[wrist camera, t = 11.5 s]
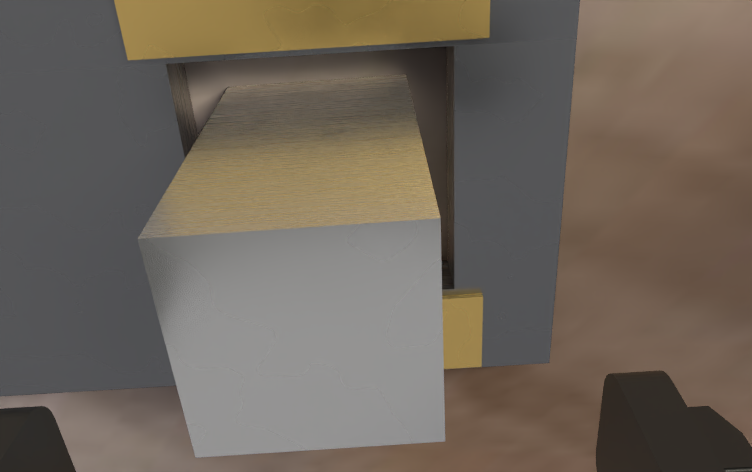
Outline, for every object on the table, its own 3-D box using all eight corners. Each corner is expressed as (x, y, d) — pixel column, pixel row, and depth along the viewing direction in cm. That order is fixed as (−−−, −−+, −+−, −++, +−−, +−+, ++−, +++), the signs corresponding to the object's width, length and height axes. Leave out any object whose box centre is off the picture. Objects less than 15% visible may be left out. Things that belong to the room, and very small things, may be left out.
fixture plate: (568, -101, 15) (590, -98, 14) (537, 331, 21) (550, 367, 19) (-582, -29, 15) (-684, -17, 14) (-300, 382, 21) (-350, 422, 19)
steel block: (405, 74, 17) (441, 218, 10) (412, 231, 19) (445, 441, 12) (228, 86, 17) (137, 238, 10) (254, 242, 19) (195, 457, 12)
